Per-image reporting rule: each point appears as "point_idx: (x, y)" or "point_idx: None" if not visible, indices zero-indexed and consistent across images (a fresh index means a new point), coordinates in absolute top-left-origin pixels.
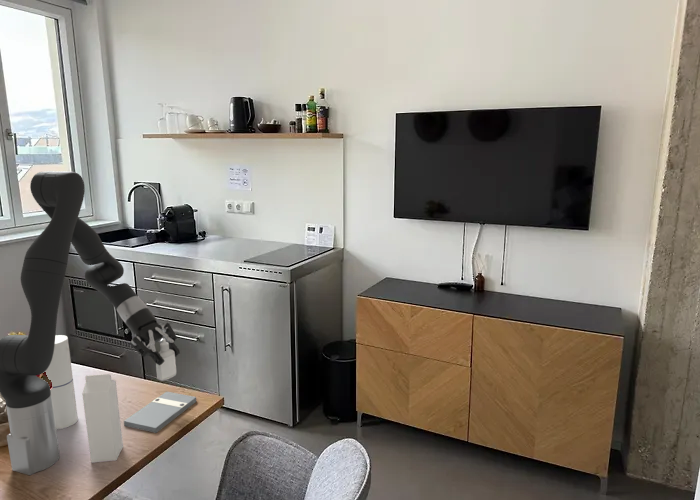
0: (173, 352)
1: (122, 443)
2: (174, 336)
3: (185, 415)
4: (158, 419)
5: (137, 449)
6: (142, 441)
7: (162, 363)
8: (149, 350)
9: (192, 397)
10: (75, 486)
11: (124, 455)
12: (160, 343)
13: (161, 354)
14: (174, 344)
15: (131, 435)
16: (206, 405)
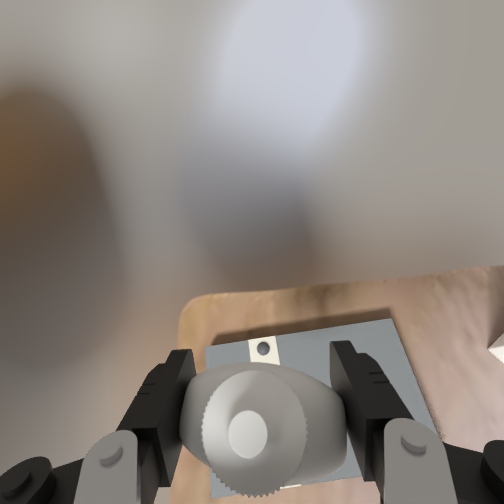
0: (209, 370)
1: (497, 345)
2: (3, 500)
3: (281, 319)
4: (360, 348)
5: (458, 304)
6: (432, 322)
7: (331, 363)
8: (487, 459)
9: (211, 355)
10: None
11: (497, 312)
12: (279, 483)
13: (318, 396)
14: (123, 425)
15: (443, 378)
16: (215, 306)
